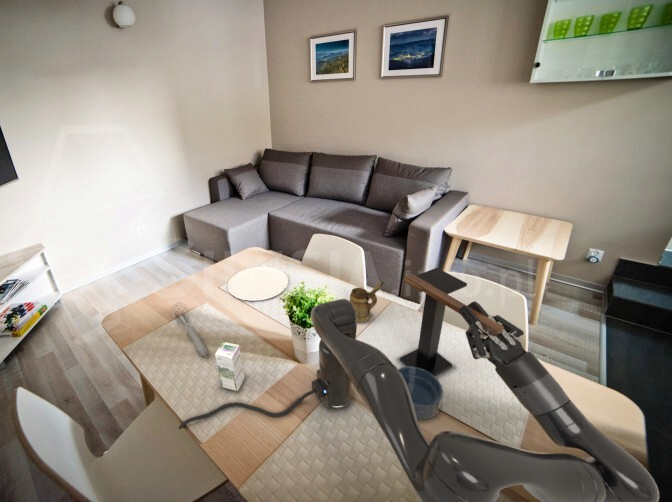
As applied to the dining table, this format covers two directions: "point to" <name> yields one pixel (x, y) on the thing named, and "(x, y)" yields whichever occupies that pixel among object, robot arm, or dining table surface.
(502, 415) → the dining table surface
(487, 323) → the stirring paddle
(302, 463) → the dining table surface
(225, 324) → the dining table surface
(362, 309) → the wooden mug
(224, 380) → the syrup box
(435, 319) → the stand
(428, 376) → the bowl
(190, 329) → the kitchen whisk
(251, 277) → the plate
